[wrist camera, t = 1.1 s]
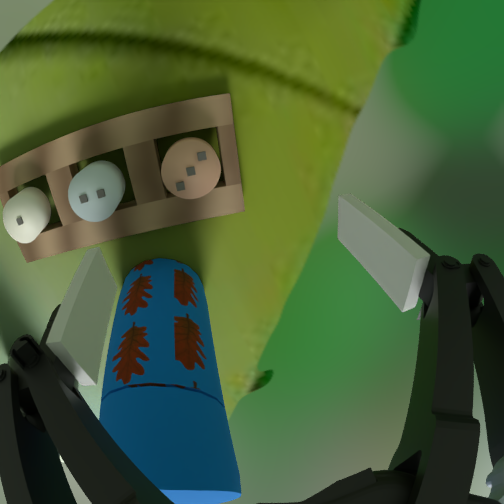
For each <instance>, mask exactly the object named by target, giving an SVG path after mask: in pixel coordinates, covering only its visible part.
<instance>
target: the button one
mask: <svg viewBox="0 0 504 504" xmlns="http://www.w3.org/2000/svg"><path fill="white" fill-rule="evenodd" d="M50 217H51V206H50V202H49V200H48V198H47V196H46V195H45V194H44V193H43V192H42V191H41V190H40V189H38V188H36V187H27V188H24V189H23V190H22V191H20V192H19V193H17V194H16V195H15V196H14V197H12V198H11V199H10V200H8V202H7V203H6V204H5V207H4V210H3V222H4V225H5V228H6V230H7V232H8V233H9V235H10V236H11V237H12V238H13V239H15V240H16V241H18V242H20V243H30V242H32V241H33V240H34V239H35V238H36V237H37V236H38V235H39V234H40V232H41V231H42V230H43V229H44V228H45V227H46V225H47V224H48V223H49V220H50Z"/></svg>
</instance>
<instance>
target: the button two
mask: <svg viewBox="0 0 504 504" xmlns="http://www.w3.org/2000/svg"><path fill="white" fill-rule="evenodd" d="M124 192H125V179H124V176H123V174H122V172H121V170H120V169H119V168H118V167H117V166H116V165H114V164H113V163H111V162H108V161H102V160H101V161H95V162H93V163H91V164H89V165H88V166H86V167H85V168H84V169H82V170H81V171H80V172H79V173H77V174H76V175H75V176H74V177H73V179H72V181H71V182H70V185H69V189H68V199H69V203H70V205H71V207H72V209H73V211H74V212H75V213H76V214H77V215H78V216H79V217H80V218H82V219H84V220H86V221H90V222H99V221H103V220H105V219H107V218H108V217H110V216H111V215H112V214H113V212H114V211H115V209H116V208H117V206H118V204H119V202H120V201H121V199H122V197H123V195H124Z"/></svg>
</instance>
